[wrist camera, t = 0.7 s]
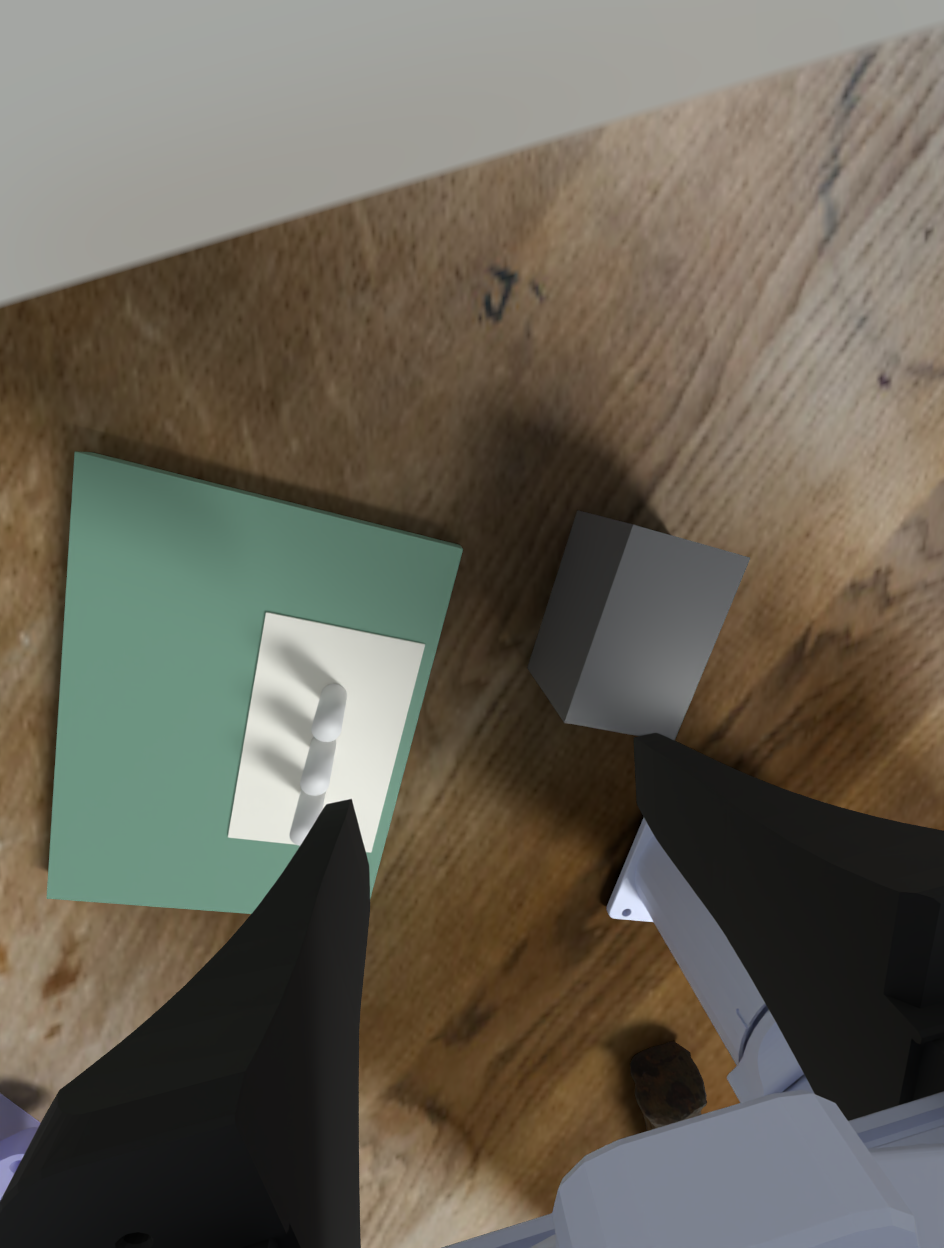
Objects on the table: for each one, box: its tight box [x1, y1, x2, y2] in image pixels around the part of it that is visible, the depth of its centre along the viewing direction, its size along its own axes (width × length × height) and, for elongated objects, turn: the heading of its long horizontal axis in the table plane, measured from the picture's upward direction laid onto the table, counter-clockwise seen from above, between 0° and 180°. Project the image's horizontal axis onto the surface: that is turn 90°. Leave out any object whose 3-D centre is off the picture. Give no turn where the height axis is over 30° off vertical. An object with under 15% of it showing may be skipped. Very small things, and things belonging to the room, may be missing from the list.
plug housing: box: [527, 510, 750, 741], centre depth 20 cm, size 4×7×5 cm, turn 165°
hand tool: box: [630, 1041, 707, 1131], centre depth 33 cm, size 19×4×5 cm, turn 11°
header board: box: [47, 452, 463, 914], centre depth 19 cm, size 13×18×4 cm
